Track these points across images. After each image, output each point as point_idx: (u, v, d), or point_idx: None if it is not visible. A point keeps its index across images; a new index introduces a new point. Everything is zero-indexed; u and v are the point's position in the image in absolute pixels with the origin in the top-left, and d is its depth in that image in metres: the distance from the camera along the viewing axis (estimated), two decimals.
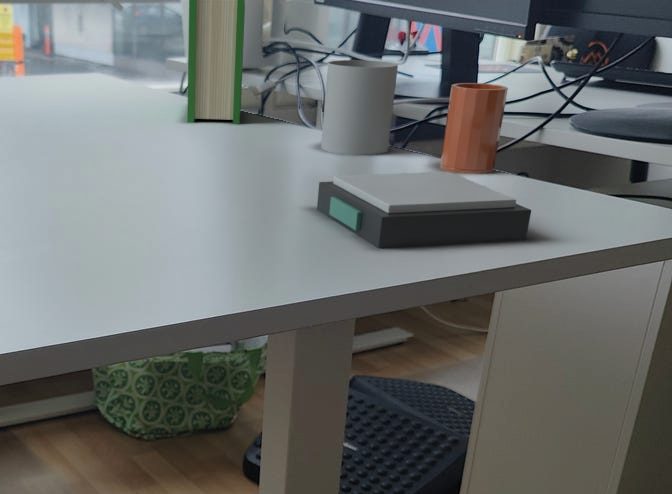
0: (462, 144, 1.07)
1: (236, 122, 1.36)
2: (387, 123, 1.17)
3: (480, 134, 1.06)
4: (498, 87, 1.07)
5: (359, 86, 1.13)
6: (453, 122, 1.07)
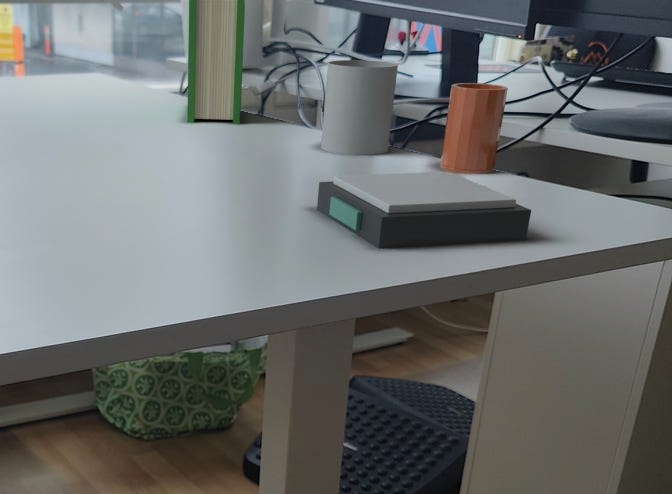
0: (462, 144, 1.07)
1: (236, 122, 1.36)
2: (387, 123, 1.17)
3: (480, 134, 1.06)
4: (498, 87, 1.07)
5: (359, 86, 1.13)
6: (453, 122, 1.07)
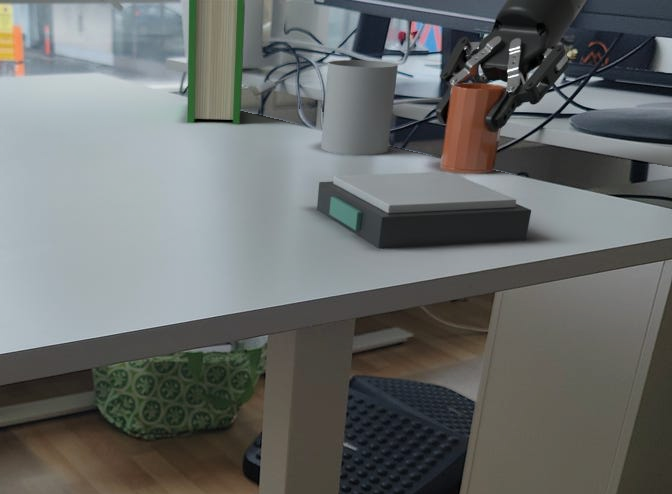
0: (462, 144, 1.07)
1: (236, 122, 1.36)
2: (387, 123, 1.17)
3: (480, 134, 1.06)
4: (498, 87, 1.07)
5: (359, 86, 1.13)
6: (453, 122, 1.07)
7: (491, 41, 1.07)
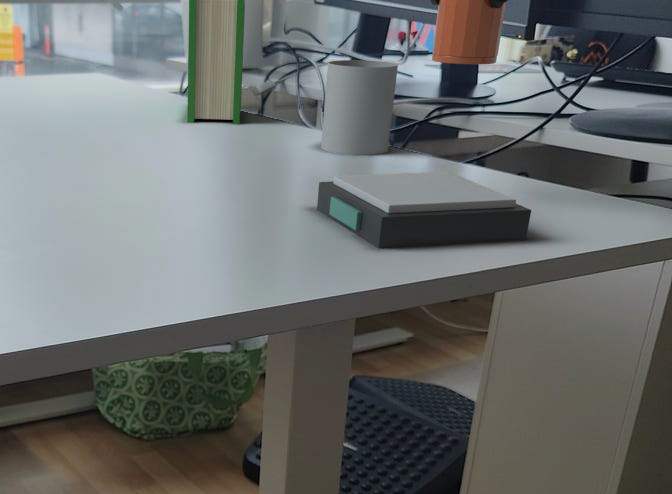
0: (458, 25, 0.88)
1: (236, 122, 1.36)
2: (387, 123, 1.17)
3: (480, 11, 0.87)
4: None
5: (359, 86, 1.13)
6: None
7: None
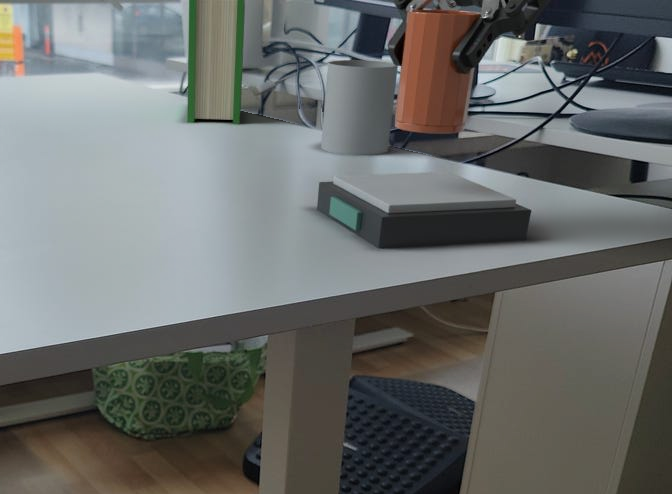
0: (422, 91, 0.79)
1: (236, 122, 1.36)
2: (387, 123, 1.17)
3: (446, 76, 0.78)
4: (470, 14, 0.79)
5: (359, 86, 1.13)
6: (409, 60, 0.79)
7: None
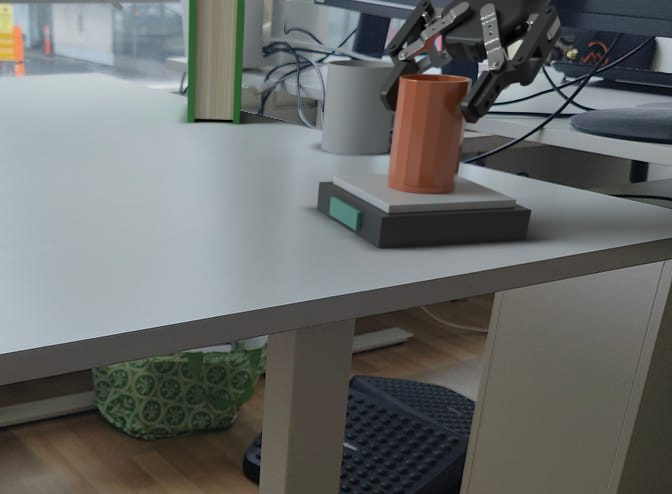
0: (413, 153, 0.82)
1: (236, 122, 1.36)
2: (387, 123, 1.17)
3: (436, 140, 0.81)
4: (460, 79, 0.82)
5: (359, 86, 1.13)
6: (401, 124, 0.82)
7: (456, 7, 0.82)
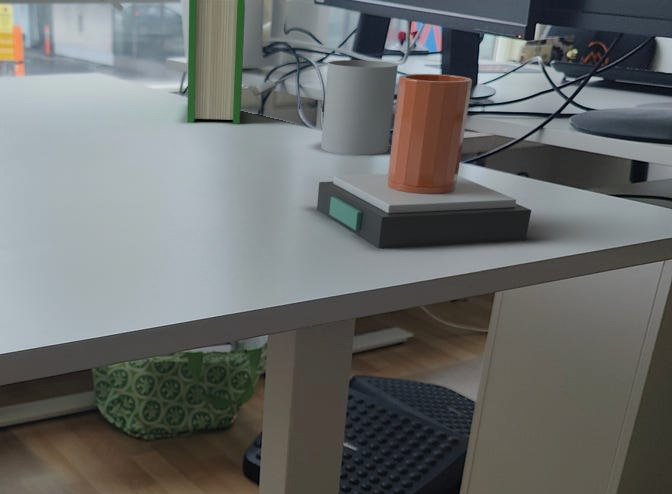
0: (413, 153, 0.82)
1: (236, 122, 1.36)
2: (387, 123, 1.17)
3: (436, 140, 0.81)
4: (460, 79, 0.82)
5: (359, 86, 1.13)
6: (401, 124, 0.82)
7: None
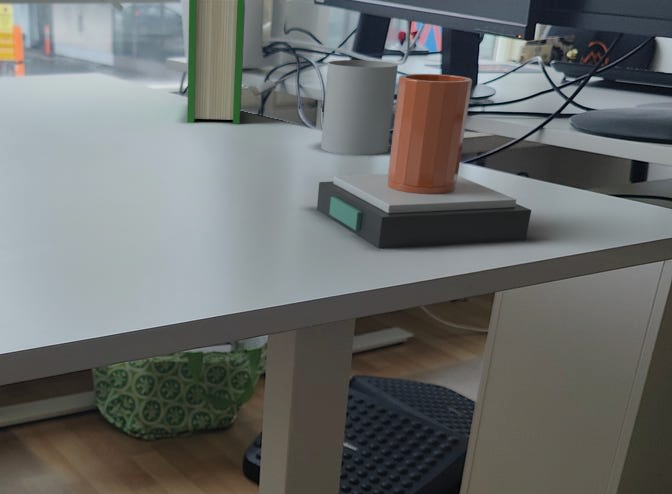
0: (413, 153, 0.82)
1: (236, 122, 1.36)
2: (387, 123, 1.17)
3: (436, 140, 0.81)
4: (460, 79, 0.82)
5: (359, 86, 1.13)
6: (401, 124, 0.82)
7: None
